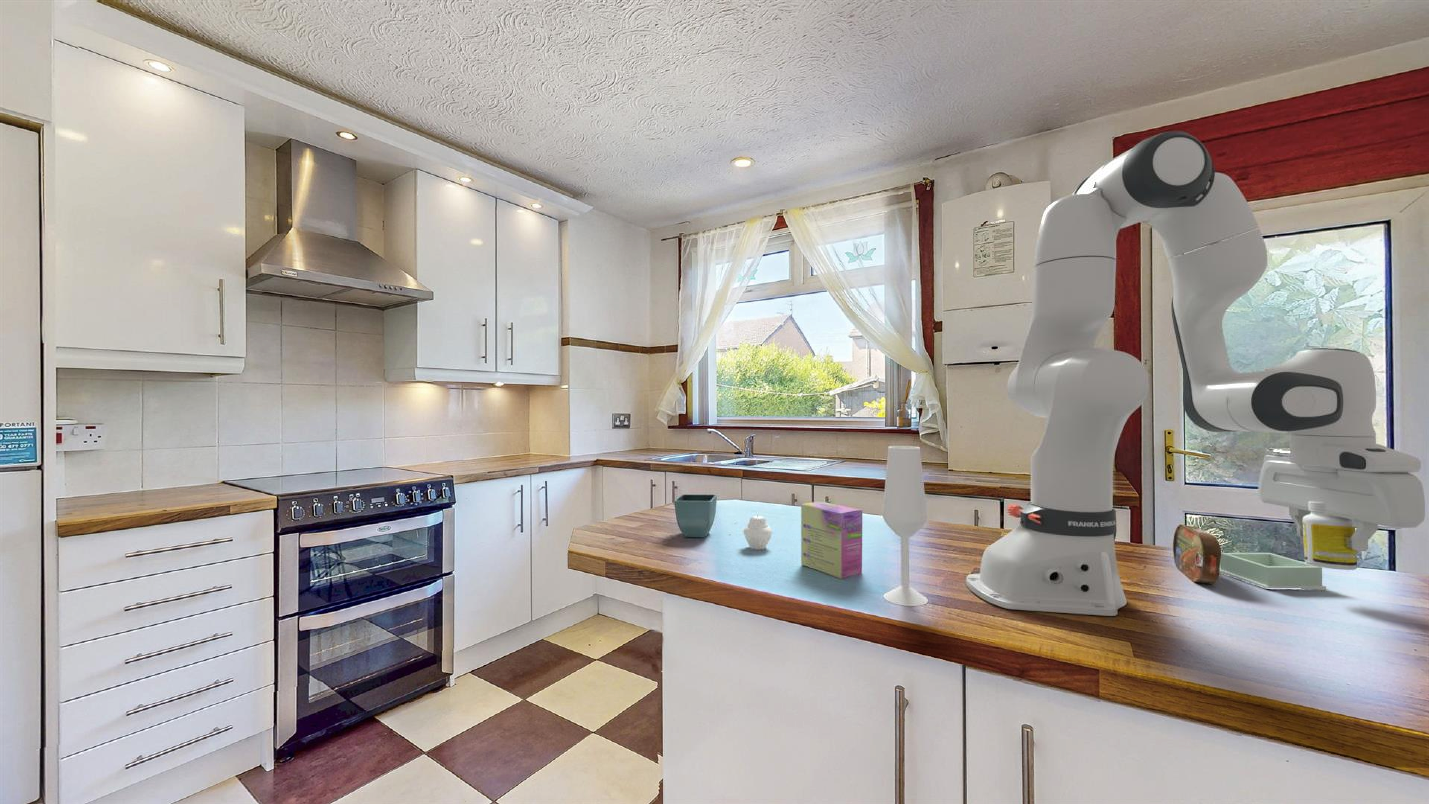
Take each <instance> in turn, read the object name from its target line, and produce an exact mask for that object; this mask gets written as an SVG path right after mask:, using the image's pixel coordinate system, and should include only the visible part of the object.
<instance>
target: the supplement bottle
mask: <svg viewBox="0 0 1429 804" xmlns="http://www.w3.org/2000/svg"><path fill="white" fill-rule="evenodd" d="M1308 508H1309V510H1310V511H1311V513H1310V514H1309V515H1306V516H1304V517H1303V554H1304V563H1307V564H1309V565H1313V566H1318V567H1322V569H1323V568H1324V569H1330V570H1331V569H1332V570H1344V571H1349V570H1350V571H1351V570H1352V571H1354V570H1356V569H1357V568H1358V553H1357V552H1358V551H1355V550H1351V549H1347V548H1346V547H1345V543H1346V542H1345V537H1351V536H1352V535H1353V533H1354V532H1355V530H1356V528H1355V527H1353V526H1352V519H1347V518H1342V517H1336V516H1331V515H1327V514H1325V513H1324V512H1325V508H1324V503H1319V502H1310V501H1309V502H1308Z"/></svg>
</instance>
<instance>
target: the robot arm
mask: <svg viewBox="0 0 1429 804" xmlns="http://www.w3.org/2000/svg"><path fill="white" fill-rule="evenodd" d="M1215 169H1216V168H1215V165H1214V162H1213V161H1212V156H1211V154H1210V153H1209V151H1208V149H1207V148H1206V147H1205V145H1204V144H1203V143H1202V142H1201V141H1200V140H1198V138H1196V137H1195V136H1193V135H1192V134H1189V133H1188V132H1185V131H1181V130H1171V131H1165V132H1160V133H1159V134H1155V135H1153V136H1150V137H1148V138H1145V139H1143V140H1141V141H1140V142H1138V143H1137V144H1136V145H1134V146H1133V147H1132V148H1130V149H1129V150H1127V151H1124V152H1123V153H1121V154H1119V155H1117V156H1116V157H1113V158H1111V159H1110V160H1109V161H1107V162H1106V163H1105V164H1103V165H1102V166H1100V167H1099V168H1098V169H1096V170H1095V172H1094V173H1092V174H1091V175H1089V176H1088V177H1086V178H1085V179H1084V180H1082V182H1081V183H1080V184H1079V185H1078V186H1077V188H1076V189H1075V190H1074V192H1073V193H1072V194H1069V195H1066V196H1063V197H1061V198H1059V199H1057V200H1055V201H1054V202H1052V203H1051V204H1049V206H1048V207H1047V208H1046V209H1045V210H1044V212H1043V214H1042V217H1041V222H1040V225H1039V230H1038V234H1037V238H1036V244H1035V252H1034V260H1033V284H1032V285H1033V286H1032V302H1031V303H1032V306H1031V314H1030V321H1029V327H1028V328H1027V329H1028V330H1027V333H1026V337H1025V340H1024V343H1023V347H1022V350H1021V353H1020V357H1019V360H1018V362H1017V365H1016V366H1015V368H1014V369H1013V371H1012V372H1011V373H1010V375H1009V377H1008V380H1007V387H1006V389H1007V394H1008V398H1009V399H1010V401H1011V403H1013V404H1014V406H1015V407H1016V408H1018V409H1020V410H1021V411H1023V412H1025V413H1027V414H1029V415H1031V416H1034V417H1037V418H1043V419H1046V423H1045V427H1044V430H1043V433H1042V434H1043V435H1042V438H1041V440H1040V442H1039V444H1038V446H1037V447H1036V449H1034V451H1033V452H1032V453H1031V455H1030V456H1031V457H1030V462H1029V463H1030V464H1029V465H1030V501H1029V502H1028V503H1027V504H1026V506H1025V507H1024V508H1023V507H1022V506H1020V505H1018V504H1014V503H1010V504H1008V506H1007V507H1006V513H1007V514H1008V515H1009V516H1011V517H1014V518H1020V520H1019V524H1020V525H1018V526H1017V527H1015V528H1014V529H1013V530H1011V531H1010V532H1008V533H1006V534H1005V535H1004V536H1002V537H1001V538H999V539H998V540H996V541H995V542H993V543H992V544H990V545H988V546H987V547H986V548H985V549H984V551H983V554H982V557H981V561H980V570H979V573H971V574H968V575H967V576H966V578H965V579H966V580H965V584H966V586H967V588H968V589H969V590H970V591H971V592H972V593H974V594H975V595H976V596H978V597H980V598H981V599H982V600H984V601H986V602H988V603H990V604H993V605H996V606H998V607H1000V608H1004V609H1007V610H1016V611H1017V610H1020V611H1031V612H1035V611H1036V612H1046V613H1047V612H1048V613H1060V614H1061V613H1065V614H1076V615H1088V616H1089V615H1092V616H1093V615H1094V616H1106V617H1107V616H1108V617H1115V616H1117V615H1118V613H1119V612H1118V609H1119V610H1120V608H1123V607H1124V606H1126V605H1127V601H1128V600H1127V598H1126V595H1125V591H1124V589H1123V586H1122V582H1121V578H1120V574H1119V568H1118V563H1117V556H1116V547H1115V541H1116V537H1117V511H1116V509H1114V508H1113V503H1114V502H1113V498H1114V497H1113V493H1114V492H1113V491H1114V489H1113V487H1114V486H1113V485H1114V484H1113V481H1114V459H1115V455H1116V450H1117V446H1118V444H1119V439H1120V438H1121V434H1122V432H1123V429H1124V426H1126V425H1125V424H1126V423H1127V421H1128V419H1129V418H1130V416H1131V415H1132V414H1133V413H1134V412H1135V411H1136V410H1137V409H1138V408H1140V407H1141V406H1142V405H1143V403H1144V401H1145V400H1146V398H1147V396H1148V392H1149V389H1150V380H1149V375H1148V372H1147V370H1146V367H1145V365H1144V364H1143V363H1142V362H1141V361H1140V360H1139V359H1138V358H1137V357H1135V356H1133V355H1132V354H1129V353H1127V352H1125V351H1120V350H1116V349H1112V348H1111V349H1110V348H1103V347H1102V348H1101V347H1095V345H1096V342H1097V340H1098V338H1099V335H1100V332H1101V330H1102V328H1103V327H1104V325H1105V324H1106V323H1107V322H1108V321H1109V320H1110V318H1111V316H1112V315H1113V312H1114V309H1115V300H1116V297H1115V296H1116V275H1117V272H1116V271H1117V238H1118V234H1119V232H1120V231H1122V230H1124V229H1125V228H1127V227H1130V226H1133V225H1136V224H1138V223H1142V222H1145V223H1146V224H1148V225H1150V226H1151V227H1152V228H1153V229H1154V230H1155V232H1157V233H1158V235H1159V236H1160V239H1161V243H1162V247H1163V251H1164V254H1165V256H1166V259H1167V262H1168V265H1169V269H1170V273H1171V277H1172V283H1173V284H1172V287H1173V295H1172V299H1171V302H1170V303H1171V305H1170V307H1171V312H1170V313H1171V318H1172V324H1173V330H1174V334H1175V339H1176V343H1177V344H1176V345H1177V348H1178V353H1179V357H1180V362H1181V368H1182V371H1183V392H1182V393H1183V395H1182V402H1183V409H1184V411H1185V413H1186V416H1187V417H1188V418H1189V420H1190V421H1191V422H1192V423H1193V424H1194V425H1196V426H1197V427H1198V428H1200V429H1203V430H1205V431H1208V432H1213V433H1225V432H1226V433H1227V432H1229V433H1230V432H1248V433H1277V434H1280V433H1281V434H1282V433H1283V434H1284V433H1285V434H1286V433H1289V450H1283V449H1279V448H1278V449H1273V450H1271V451H1270V452H1268V453H1267V454H1266V455H1264V456H1263V465H1262V467H1261V469H1260V474H1259V479H1258V486H1257V487H1258V488H1257V495H1258V497H1259V499H1260V501H1261V502H1262V503H1264V504H1270V505H1275V506H1280V507H1284V508H1285V507H1286V508H1288V515H1289V517H1290V518H1291V520H1292V522H1293V523H1294V525H1295V526H1296V536H1297V537H1299V538H1303V517H1304V516H1306V515H1309V514H1310V513H1311V511H1310V510H1309V508H1308V502H1309V501H1310V502H1319V503H1324V508H1325V512H1324V513H1325V514H1327V515H1331V516H1336V517H1342V518H1347V519H1351V520H1352V526H1353V527H1355V532H1354V533H1353V535H1352V536H1351V537H1345V542H1346V543H1345V547H1346V548H1347V549H1351V550H1355V551H1357V552H1367V551H1368V550H1369V540H1370V539H1371V538H1373V537H1372V536H1374V535H1375V533H1376V532H1377V531H1378V530H1379V526H1385V527H1389V528H1396V529H1397V528H1398V529H1399V528H1402V529H1407V528H1408V529H1409V528H1410V529H1411V528H1412V529H1414V528H1417V527H1419V526H1420V525H1421V524H1423V523H1424V521H1425V517H1426V514H1425V513H1426V501H1425V500H1426V499H1425V491H1424V485H1423V483H1422V482H1421V481H1422V480H1420V479H1419V477H1417V476H1416V475H1414V474H1413V473H1419V472H1420V471H1421V469H1422V467H1421V466H1422V462H1421V460H1420V459H1419V458H1418V457H1416V456H1413V455H1410V454H1408V453H1404V452H1401V451H1398V450H1396V449H1393V448H1390V447H1388V446H1385V445H1383V444H1379V443H1377V433H1376V431H1375V428H1374V426H1373V417H1374V413H1375V411H1376V408H1377V387H1376V385H1377V384H1376V377H1375V372H1374V368H1373V365H1372V363H1371V360H1370V358H1369V357H1368V356H1367V355H1366V354H1364V353H1361V352H1359V351H1358V350H1357V351H1356V350H1353V349H1347V348H1336V347H1334V348H1330V347H1329V348H1328V347H1318V348H1317V347H1315V348H1314V347H1313V348H1307V349H1303V350H1300V351H1297V353H1295V355H1294V356H1293V357H1291V358H1290V359H1288V360H1286V361H1285V362H1282V363H1280V364H1277V365H1276V366H1275V365H1274V366H1272V367H1269V368H1265V369H1264V370H1261V371H1260V370H1259V371H1258V370H1257V371H1252V372H1239V371H1238V372H1237V371H1236V370H1235V369H1234V368H1233V367H1232V365H1231V364H1230V363H1231V362H1230V358H1229V354H1228V350H1227V348H1228V347H1227V345H1226V339H1225V335H1224V329H1223V320H1224V316H1225V314H1226V312H1227V311H1228V309H1229V308H1230V307H1231V306H1232V304H1234V303H1235V302H1236V301H1237V300H1238V299H1240V298H1241V297H1242V296H1244V295H1245V294H1247V292H1249V291H1250V290H1252V288H1253V287H1255V286H1256V285H1257V283H1258V282H1259V281H1260V280H1261V278H1262V277H1263V275H1264V274H1265V271H1266V269H1267V267H1268V250H1267V245H1266V243H1265V239H1264V237H1263V234H1262V232H1261V230H1260V228H1259V225H1258V222H1257V220H1256V219H1257V218H1256V216H1255V214H1254V213H1253V210H1252V209H1251V206H1250V205H1249V202H1248V201H1247V200H1246V197H1245V196H1244V194H1243V193H1242V192H1241V190H1240V188H1239V187H1238V186H1237V184H1236V183H1235V181H1234V180H1233V179H1232V178H1231V177H1230V176H1228V175H1227V174H1225V173H1221V172H1216V170H1215Z"/></svg>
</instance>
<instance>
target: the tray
mask: <svg viewBox="0 0 1429 804" xmlns="http://www.w3.org/2000/svg"><path fill="white" fill-rule="evenodd" d="M1219 572H1220V573H1221V575H1223V574H1226V575H1229V576H1231V577H1236V578H1238V579H1240V580H1244V581H1247V582H1249V583H1253V584H1255V585H1259V586H1262V587H1264V588H1301V589H1319V590H1318V591H1327V586H1326V585H1323V567H1318V566H1313V565H1309V564H1307V563H1306V562H1305V561H1304V562H1303V561H1300V560H1297V559H1293V558H1289V557H1286V556H1283V555H1279V554H1276V553H1272V552H1221V558H1220V571H1219ZM1226 575H1225V576H1226ZM1229 576H1228V577H1229ZM1231 577H1230V578H1231ZM1240 580H1239V581H1240Z"/></svg>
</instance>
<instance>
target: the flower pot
mask: <svg viewBox="0 0 1429 804" xmlns="http://www.w3.org/2000/svg"><path fill="white" fill-rule="evenodd" d="M717 497H718V495H717V494H695V493H694V494H692V493H691V494H686V493H685V494H684V493H683V494H681V495H680V496H678V497H677V498H676V499H674V500H673V504H674V512H675V519H676V523H677V526H678V529H679V530H680V532H681V534H682V536H684V538H703V539H704V538H706V537H707V536H708V534H709V533H710V531H711V529H712V526H713V525H714V521H715V518H716V511H717Z"/></svg>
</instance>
